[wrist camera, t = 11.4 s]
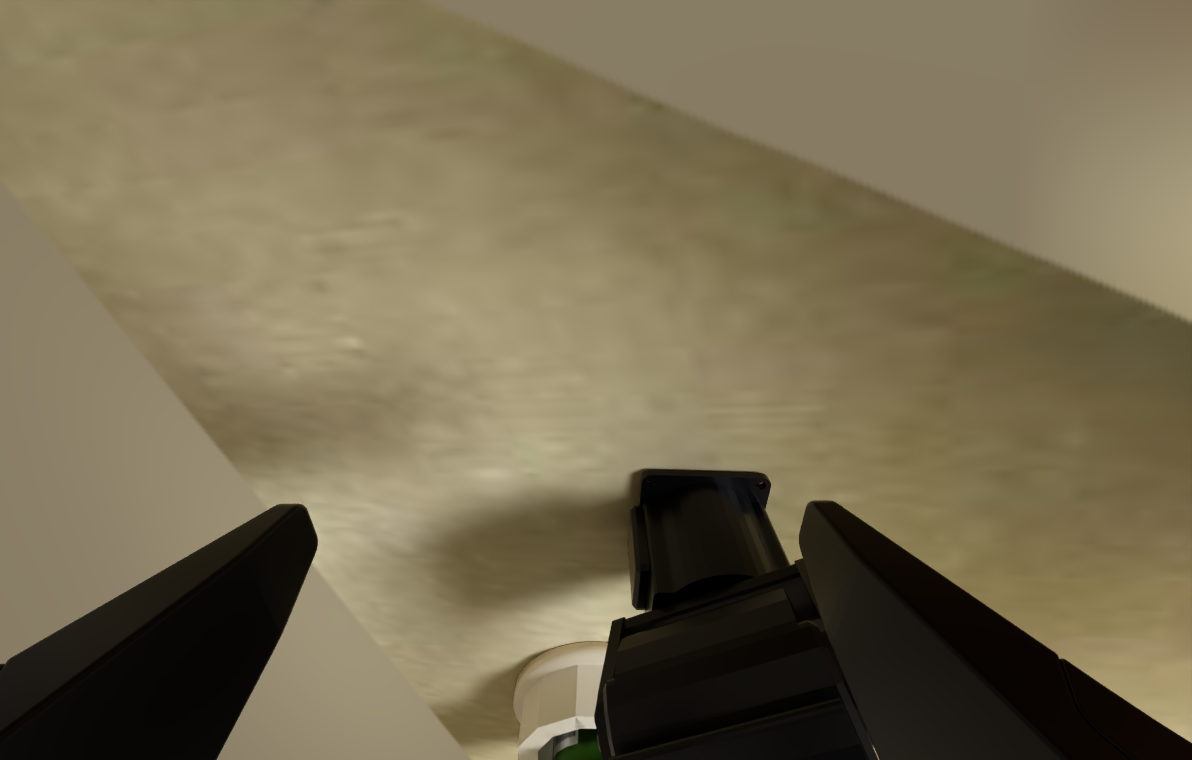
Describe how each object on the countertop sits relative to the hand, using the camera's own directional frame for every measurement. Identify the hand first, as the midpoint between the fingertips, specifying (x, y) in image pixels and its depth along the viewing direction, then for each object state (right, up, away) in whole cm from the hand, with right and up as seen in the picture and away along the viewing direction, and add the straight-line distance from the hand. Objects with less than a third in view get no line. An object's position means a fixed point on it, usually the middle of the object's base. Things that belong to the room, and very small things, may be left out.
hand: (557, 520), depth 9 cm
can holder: (+1, -19, +24) cm, 31 cm away
